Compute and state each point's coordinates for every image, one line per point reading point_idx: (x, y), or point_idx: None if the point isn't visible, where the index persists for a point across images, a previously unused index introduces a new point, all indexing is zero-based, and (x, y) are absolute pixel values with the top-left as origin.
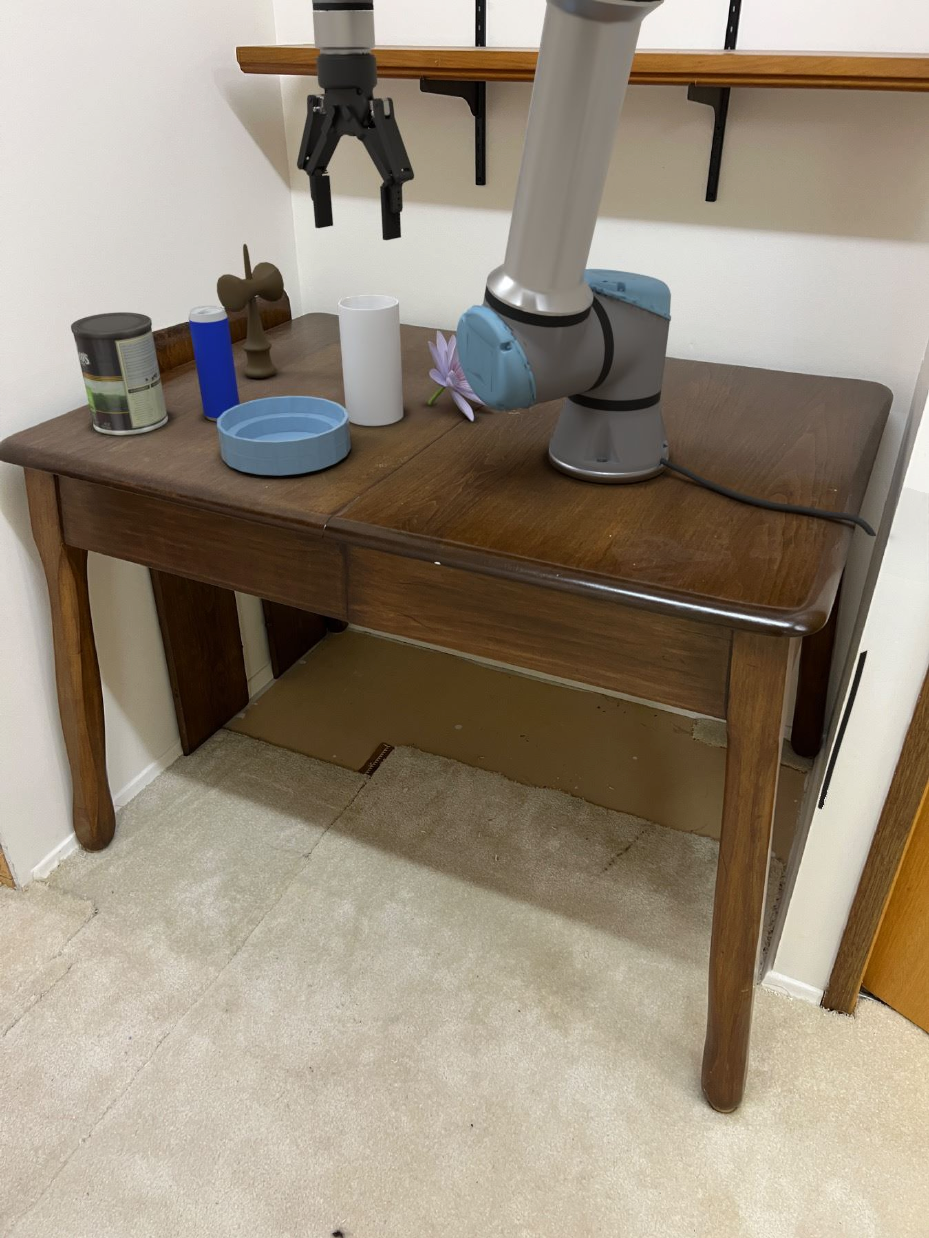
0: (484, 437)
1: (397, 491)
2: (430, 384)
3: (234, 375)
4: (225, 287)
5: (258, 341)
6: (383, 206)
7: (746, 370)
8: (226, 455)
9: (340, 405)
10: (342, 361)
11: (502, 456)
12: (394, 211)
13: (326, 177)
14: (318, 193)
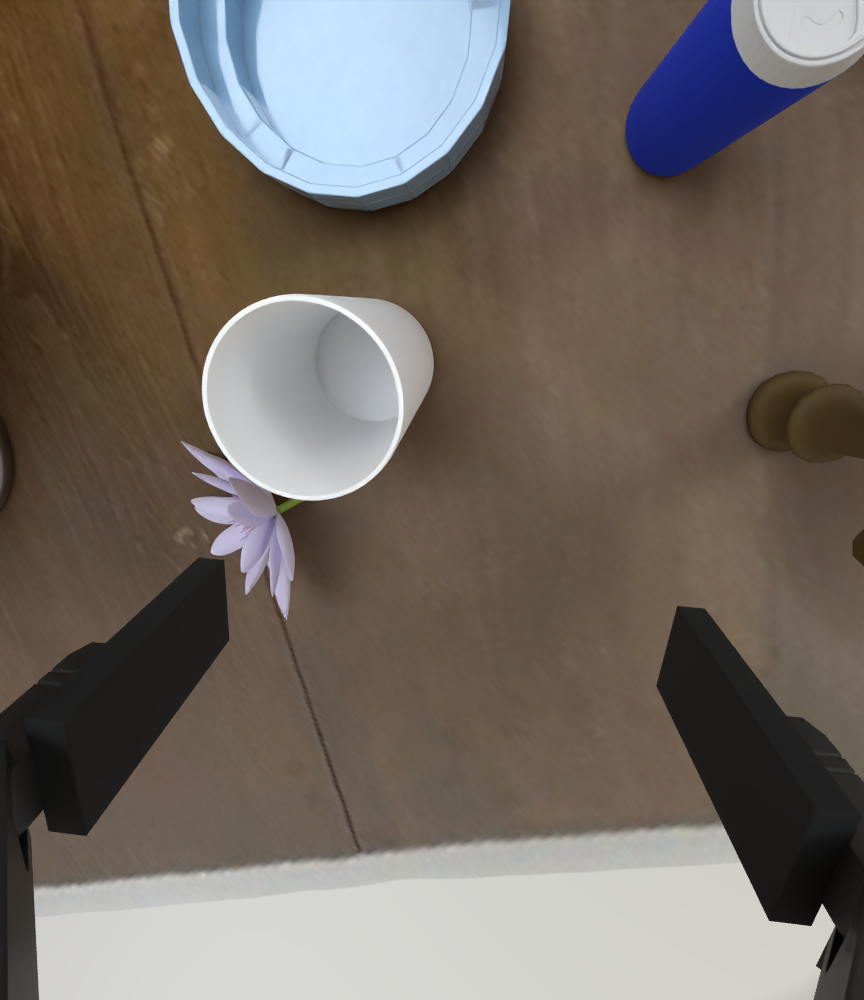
0: (132, 403)
1: (36, 56)
2: (412, 573)
3: (659, 121)
4: None
5: (817, 414)
6: (120, 642)
7: (65, 872)
8: None
9: (292, 183)
10: (389, 313)
11: (42, 345)
12: (83, 647)
13: (774, 890)
14: (749, 739)
